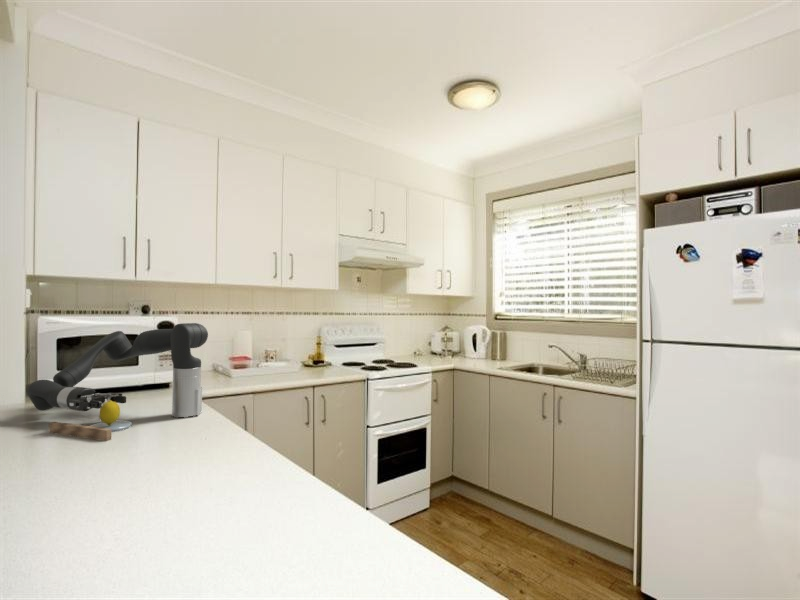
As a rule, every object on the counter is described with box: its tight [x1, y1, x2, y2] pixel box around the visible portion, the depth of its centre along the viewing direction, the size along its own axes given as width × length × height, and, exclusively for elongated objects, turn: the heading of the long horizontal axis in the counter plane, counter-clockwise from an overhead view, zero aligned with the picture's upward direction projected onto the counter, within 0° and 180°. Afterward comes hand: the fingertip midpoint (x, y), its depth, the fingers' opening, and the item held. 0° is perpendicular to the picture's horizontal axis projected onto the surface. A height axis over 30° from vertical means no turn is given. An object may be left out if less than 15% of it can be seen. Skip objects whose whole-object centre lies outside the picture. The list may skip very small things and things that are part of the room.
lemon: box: [99, 400, 121, 425], centre depth 144 cm, size 6×6×8 cm
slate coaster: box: [89, 420, 132, 433], centre depth 143 cm, size 12×12×1 cm
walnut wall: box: [48, 421, 113, 442], centre depth 134 cm, size 24×2×3 cm, turn 71°
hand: (113, 402), depth 143 cm, fingers open, 8 cm apart
